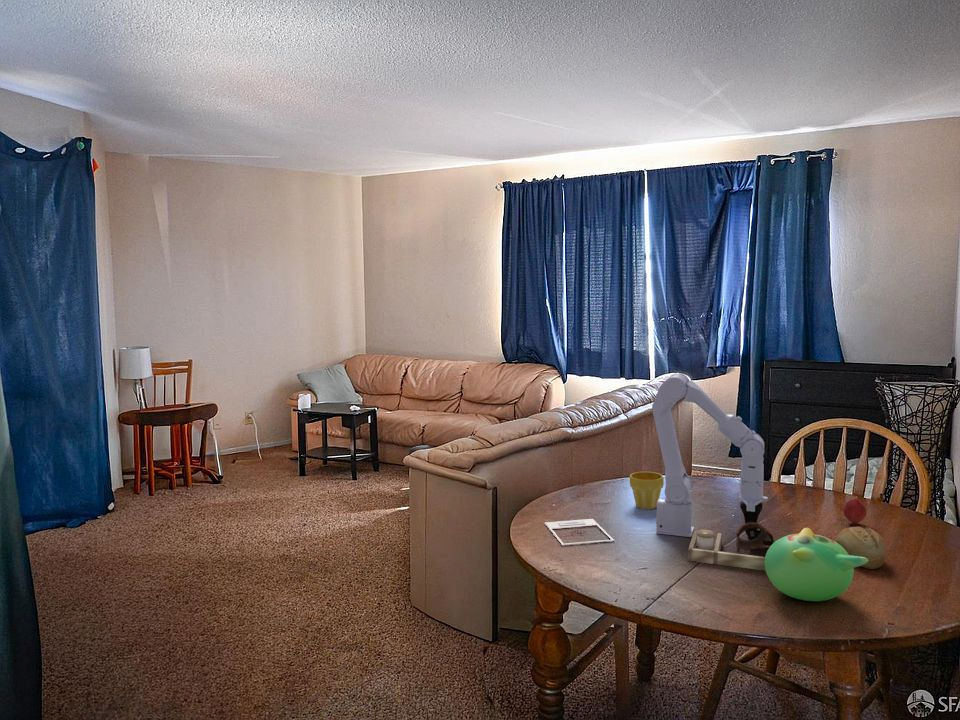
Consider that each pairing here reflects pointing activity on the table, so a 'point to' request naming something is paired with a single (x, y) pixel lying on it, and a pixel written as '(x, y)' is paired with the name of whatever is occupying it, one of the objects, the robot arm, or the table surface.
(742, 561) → the bracket
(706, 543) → the cream jar
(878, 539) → the bread roll
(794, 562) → the toy bird
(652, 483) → the plant pot
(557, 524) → the photo frame
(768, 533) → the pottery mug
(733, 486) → the table surface
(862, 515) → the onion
